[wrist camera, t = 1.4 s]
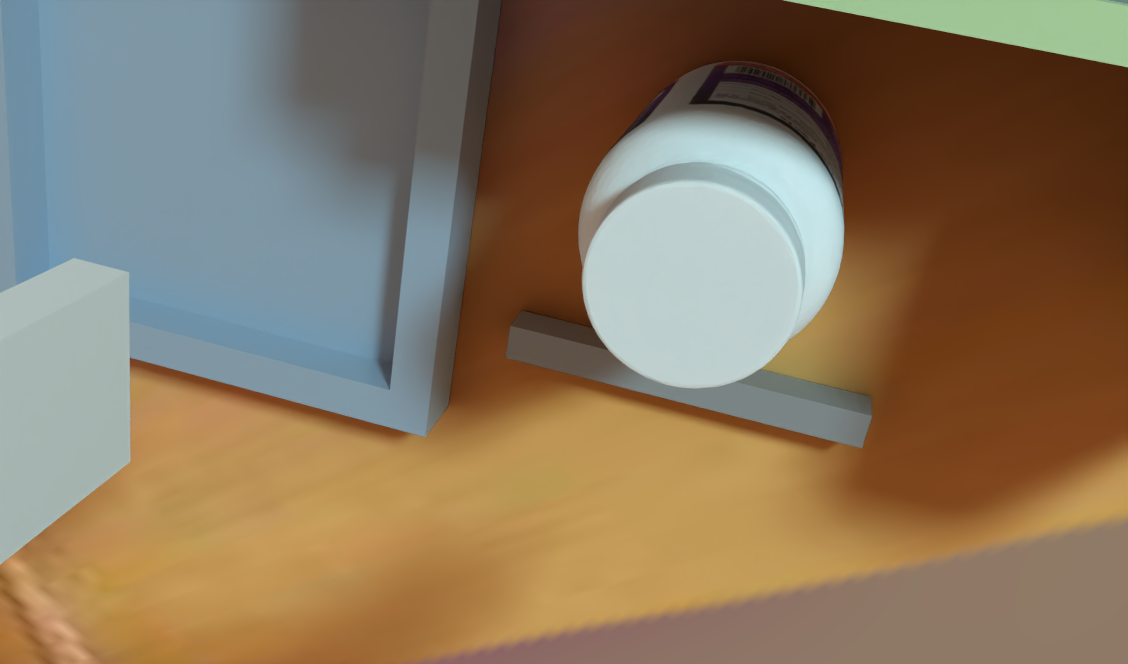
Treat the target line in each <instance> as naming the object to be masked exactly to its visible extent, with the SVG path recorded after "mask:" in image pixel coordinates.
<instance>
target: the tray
mask: <svg viewBox="0 0 1128 664" xmlns="http://www.w3.org/2000/svg"><path fill="white" fill-rule="evenodd" d="M501 1H502V0H0V293H1V292H3V291H5V290H7V289H10V288H12V287H14V286H16V285H18V284H20V283H22V282H24V281H27V280H29V279H31V278H33V277H35V276H37V275H39V274H41V273H44V272H46V271H48V270H50V269H52V268H54V267H56V266H58V265H61V264H63V263H65V262H67V261H69V260H71V259H73V258H76V259H80V260H83V261H87V262H91V263H95V264H99V265H103V266H107V267H110V268H114V269H118V270H122V271H126V272H129V334H130V358H133V359H137V360H141V361H144V362H148V363H152V364H156V365H159V366H163V367H167V368H170V369H174V370H178V371H182V372H185V373H189V374H193V375H196V376H200V377H204V378H208V379H211V380H215V381H219V382H222V383H226V384H230V385H234V386H237V387H241V388H245V389H248V390H252V391H256V392H260V393H263V394H267V395H271V396H274V397H278V398H282V399H286V400H289V401H293V402H297V403H300V404H304V405H308V406H312V407H315V408H319V409H323V410H326V411H330V412H334V413H338V414H341V415H345V416H349V417H352V418H356V419H360V420H364V421H367V422H371V423H375V424H378V425H382V426H386V427H390V428H393V429H397V430H401V431H404V432H408V433H412V434H416V435H419V436H423V437H426V435H427V434H428V433H429V431H430V430H431V429H432V427H433V426H434V425H435V423H436V422H437V421H438V419H439V418H440V417H441V416H442V414H443V413H444V412H445V410H446V409H447V408H448V404H449V396H450V388H451V381H452V373H453V366H454V358H455V350H456V343H457V335H458V328H459V320H460V312H461V305H462V297H463V290H464V282H465V275H466V267H467V259H468V252H469V244H470V237H471V229H472V221H473V214H474V206H475V199H476V191H477V183H478V176H479V168H480V161H481V153H482V145H483V138H484V130H485V123H486V115H487V107H488V100H489V92H490V85H491V77H492V69H493V62H494V54H495V47H496V39H497V31H498V24H499V16H500V9H501Z"/></svg>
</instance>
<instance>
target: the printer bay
mask: <svg viewBox="0 0 1128 664" xmlns="http://www.w3.org/2000/svg"><path fill="white" fill-rule="evenodd" d="M784 1H790V2H795V3H800V4H805V5H810V6H815V7H820V8H826V9H831V10H836V11H841V12H846V13H851V14H857V15H862V16H867V17H872V18H877V19H882V20H887V21H893V22H898V23H903V24H908V25H913V26H918V27H923V28H929V29H934V30H939V31H944V32H949V33H954V34H959V35H965V36H970V37H975V38H980V39H985V40H990V41H995V42H1001V43H1006V44H1011V45H1016V46H1021V47H1026V48H1031V49H1037V50H1042V51H1047V52H1052V53H1057V54H1062V55H1068V56H1073V57H1078V58H1083V59H1088V60H1093V61H1098V62H1104V63H1109V64H1114V65H1119V66H1124V67H1128V0H784ZM506 358H508V359H512V360H516V361H520V362H524V363H528V364H532V365H536V366H540V367H543V368H547V369H551V370H555V371H559V372H563V373H567V374H571V375H575V376H579V377H583V378H587V379H591V380H595V381H598V382H602V383H606V384H610V385H614V386H618V387H622V388H626V389H630V390H634V391H638V392H642V393H646V394H650V395H653V396H657V397H661V398H665V399H669V400H673V401H677V402H681V403H685V404H689V405H693V406H697V407H701V408H705V409H708V410H712V411H716V412H720V413H724V414H728V415H732V416H736V417H740V418H744V419H748V420H752V421H756V422H760V423H763V424H767V425H771V426H775V427H779V428H783V429H787V430H791V431H795V432H799V433H803V434H807V435H811V436H815V437H818V438H822V439H826V440H830V441H834V442H838V443H842V444H846V445H850V446H854V447H858V448H862V447H863V444H864V441H865V437H866V434H867V431H868V428H869V425H870V422H871V419H872V402H871V397H870V396H866V395H862V394H858V393H854V392H850V391H846V390H842V389H838V388H834V387H830V386H826V385H822V384H818V383H814V382H810V381H805V380H801V379H797V378H793V377H789V376H785V375H781V374H777V373H773V372H769V371H765V370H761V369H759V370H757V371H756V372H754V373H753V374H751V375H749V376H747V377H745V378H743V379H741V380H738V381H735V382H733V383H730V384H726V385H723V386H719V387H711V388H700V389H693V388H678V387H673V386H668V385H665V384H662V383H658V382H655V381H653V380H651V379H648V378H646V377H644V376H642V375H640V374H638V373H636V372H635V371H633V370H632V369H630V368H628V367H627V366H626V365H625V364H623V363H622V362H621V361H620V360H618V359H617V358H616V357H615V356H614V355H613V354H612V353H611V352H610V351H609V350H608V349H607V347H606V346H605V345H604V343H603V342H602V341H601V339H600V338H599V336H598V335H597V333H596V331H595V330H594V328H591V327H587V326H583V325H579V324H575V323H571V322H567V321H563V320H559V319H554V318H550V317H546V316H542V315H538V314H534V313H530V312H526V311H521V312H520V314H519V315H518V316H517V318H516V319H515V320H514V322H513V323H512V324H511V326H510V331H509V338H508V345H507V351H506Z"/></svg>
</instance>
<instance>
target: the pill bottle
mask: <svg viewBox="0 0 1128 664" xmlns="http://www.w3.org/2000/svg"><path fill="white" fill-rule="evenodd" d="M842 170H843V168H842V154H841V149H840V143H839V139H838V135H837V132H836V129H835V126H834V124H833V122H832V119H831V117H830V115H829V113H828V112H827V110H826V109H825V107H824V105H823V104H822V103H821V102H820V100H819V99H818V98H817V97H816V95H815V94H814V93H813V92H812V91H811V90H810V89H809V88H807V87H806V86H805V85H804V84H803V83H802V82H800V81H799V80H798V79H796V78H794V77H793V76H791V75H790V74H788V73H786V72H784V71H782V70H780V69H778V68H775V67H772V66H769V65H766V64H762V63H757V62H750V61H725V62H718V63H712V64H709V65H706V66H702V67H699V68H697V69H695V70H693V71H690V72H688V73H687V74H685V75H683V76H681V77H680V78H678V79H677V80H675V81H674V82H673V83H671V84H670V85H668V86H667V87H666V88H664V89H663V90H662V91H661V92H660V93H659V94H658V95H657V96H656V97H655V98H654V99H653V100H652V101H651V102H650V104H649V105H648V106H647V107H646V108H645V110H644V111H643V112H642V113H641V115H640V116H639V117H638V118H637V119H636V120H635V122H634V123H633V124H632V125H631V126H630V127H629V128H628V130H627V131H626V132H625V133H624V134H623V135H622V137H621V138H620V139H619V140H618V141H617V142H616V143H615V144H614V146H613V147H612V148H611V149H610V150H609V152H608V153H607V154H606V155H605V157H604V158H603V160H602V161H601V163H600V164H599V166H598V167H597V169H596V171H595V172H594V174H593V177H592V178H591V180H590V183H589V185H588V187H587V190H586V192H585V195H584V199H583V202H582V206H581V212H580V218H579V225H578V240H579V251H580V257H581V262H582V266H583V270H582V292H583V299H584V304H585V308H586V311H587V314H588V317H589V320H590V322H591V324H592V326H593V328H594V330H595V331H596V333H597V335H598V336H599V338H600V339H601V341H602V342H603V343H604V345H605V346H606V347H607V349H608V350H609V351H610V352H611V353H612V354H613V355H614V356H615V357H616V358H617V359H618V360H620V361H621V362H622V363H623V364H625V365H626V366H627V367H628V368H630V369H632V370H633V371H635V372H636V373H638V374H640V375H642V376H644V377H646V378H648V379H651V380H653V381H655V382H658V383H662V384H665V385H668V386H673V387H678V388H693V389H700V388H711V387H719V386H723V385H726V384H730V383H733V382H735V381H738V380H741V379H743V378H745V377H747V376H749V375H751V374H753V373H754V372H756V371H757V370H759V369H761V368H762V367H763V366H765V365H766V364H767V363H768V362H769V361H771V360H772V359H773V358H774V357H775V355H776V354H777V353H778V352H779V351H780V350H781V349H782V348H783V346H784V345H785V343H786V342H787V341H788V340H790V339H791V338H792V337H794V336H795V335H796V334H798V333H799V332H800V331H801V330H802V329H803V328H804V327H805V326H806V325H807V324H808V323H809V322H810V321H811V320H812V319H813V318H814V317H815V315H816V314H817V313H818V312H819V310H820V309H821V308H822V306H823V304H824V303H825V301H826V300H827V298H828V296H829V294H830V292H831V290H832V288H833V285H834V283H835V280H836V278H837V275H838V272H839V269H840V264H841V260H842V254H843V245H844V226H845V225H844V207H843V173H842Z"/></svg>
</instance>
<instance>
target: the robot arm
mask: <svg viewBox="0 0 1128 664" xmlns="http://www.w3.org/2000/svg"><path fill="white" fill-rule="evenodd" d="M129 462H130V334H129V272H126V271H122V270H118V269H114V268H110V267H107V266H103V265H99V264H95V263H91V262H87V261H83V260H80V259H76V258H73V259H71V260H69V261H67V262H65V263H63V264H61V265H58V266H56V267H54V268H52V269H50V270H48V271H46V272H44V273H41V274H39V275H37V276H35V277H33V278H31V279H29V280H27V281H24V282H22V283H20V284H18V285H16V286H14V287H12V288H10V289H7V290H5V291H3V292H1V293H0V564H1V563H3V562H4V561H5V560H7V559H8V558H9V557H10V556H12V555H13V554H14V553H15V552H17V551H18V550H19V549H20V548H22V547H23V546H24V545H26V544H27V543H28V542H29V541H31V540H32V539H33V538H34V537H36V536H37V535H38V534H39V533H41V532H42V531H43V530H45V529H46V528H47V527H48V526H50V525H51V524H52V523H53V522H55V521H56V520H57V519H58V518H60V517H61V516H62V515H64V514H65V513H66V512H67V511H69V510H70V509H71V508H72V507H74V506H75V505H76V504H77V503H79V502H80V501H81V500H82V499H84V498H85V497H86V496H88V495H89V494H90V493H91V492H93V491H94V490H95V489H96V488H98V487H99V486H100V485H101V484H103V483H104V482H105V481H107V480H108V479H109V478H110V477H112V476H113V475H114V474H115V473H117V472H118V471H119V470H120V469H122V468H123V467H124V466H126V465H127V464H128V463H129Z"/></svg>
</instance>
